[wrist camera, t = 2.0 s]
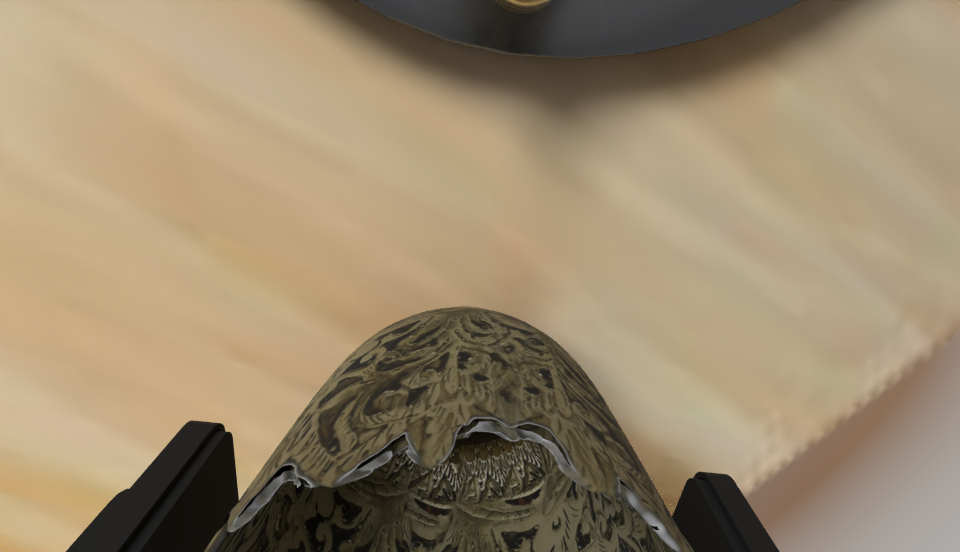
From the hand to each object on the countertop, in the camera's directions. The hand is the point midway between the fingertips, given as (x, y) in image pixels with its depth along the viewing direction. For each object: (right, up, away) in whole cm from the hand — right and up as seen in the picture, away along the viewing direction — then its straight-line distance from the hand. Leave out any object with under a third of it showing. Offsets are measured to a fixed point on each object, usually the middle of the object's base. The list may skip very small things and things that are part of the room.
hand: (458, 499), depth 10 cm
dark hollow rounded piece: (0, +2, +4) cm, 5 cm away
